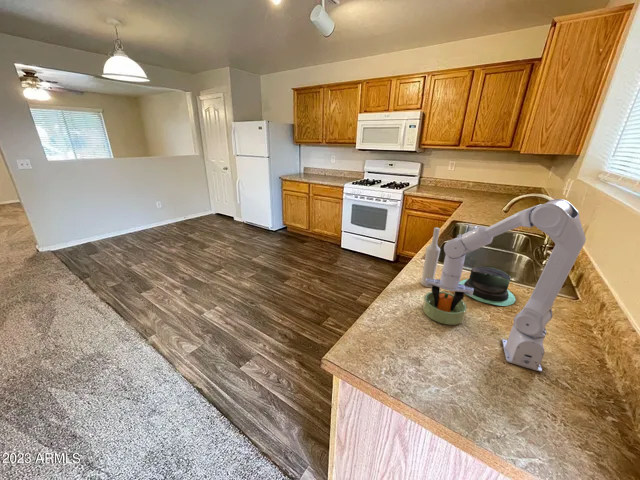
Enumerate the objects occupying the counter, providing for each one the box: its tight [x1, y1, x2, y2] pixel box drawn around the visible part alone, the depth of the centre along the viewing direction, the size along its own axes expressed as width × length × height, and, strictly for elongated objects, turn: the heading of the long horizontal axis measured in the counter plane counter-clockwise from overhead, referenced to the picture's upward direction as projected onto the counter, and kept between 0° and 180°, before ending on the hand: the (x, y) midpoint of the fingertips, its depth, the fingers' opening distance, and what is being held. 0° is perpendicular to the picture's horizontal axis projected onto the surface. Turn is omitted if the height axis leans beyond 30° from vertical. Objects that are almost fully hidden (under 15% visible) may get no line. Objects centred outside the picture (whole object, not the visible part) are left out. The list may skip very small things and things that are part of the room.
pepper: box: [436, 294, 453, 312], centre depth 91 cm, size 5×5×7 cm
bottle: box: [420, 227, 441, 288], centre depth 107 cm, size 5×5×25 cm
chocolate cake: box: [459, 266, 516, 307], centre depth 106 cm, size 15×19×20 cm
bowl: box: [422, 291, 468, 326], centre depth 92 cm, size 13×13×5 cm
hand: (443, 307), depth 92 cm, fingers closed on pepper, 4 cm apart
